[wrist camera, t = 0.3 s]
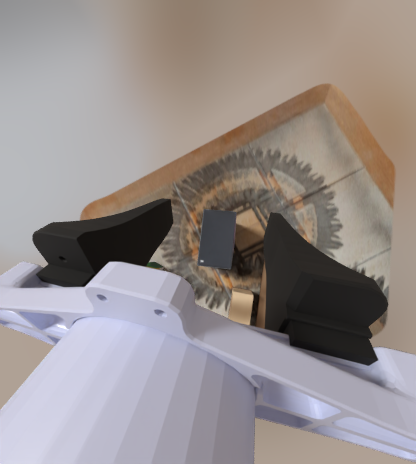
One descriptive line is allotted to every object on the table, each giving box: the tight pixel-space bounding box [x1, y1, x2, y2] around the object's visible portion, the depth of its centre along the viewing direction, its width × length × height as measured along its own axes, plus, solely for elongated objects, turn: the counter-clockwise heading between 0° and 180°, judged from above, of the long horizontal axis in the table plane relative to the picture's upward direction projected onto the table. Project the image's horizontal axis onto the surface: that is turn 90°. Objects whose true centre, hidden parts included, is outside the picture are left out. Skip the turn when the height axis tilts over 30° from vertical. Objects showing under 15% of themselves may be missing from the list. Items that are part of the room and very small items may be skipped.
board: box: [255, 259, 266, 329], centre depth 37 cm, size 16×9×1 cm, turn 171°
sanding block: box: [228, 287, 254, 325], centre depth 37 cm, size 7×4×5 cm, turn 171°
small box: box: [197, 209, 236, 269], centre depth 36 cm, size 11×6×10 cm, turn 174°
